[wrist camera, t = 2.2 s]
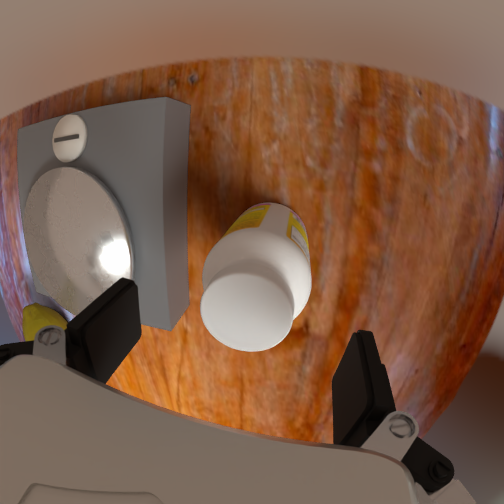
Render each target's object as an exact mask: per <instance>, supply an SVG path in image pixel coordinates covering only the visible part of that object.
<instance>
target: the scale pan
mask: <svg viewBox="0 0 504 504" xmlns="http://www.w3.org/2000/svg"><path fill="white" fill-rule="evenodd" d="M24 237H25V243H26V248H27V252H28V255H29V259H30V261H31V264H32V266H33V269H34V271H35V273H36V275H37V277H38V279H39V280H40V282H41V284H42V285H43V286H44V288H45V289H46V291H47V292H48V293H49V294H50V296H51V297H52V298H53V299H54V300H55V301H56V302H57V303H58V304H59V305H61V306H62V307H63V308H64V309H66V310H67V311H69V312H70V313H72V314H74V315H76V316H77V315H78V314H79V313H80V312H81V311H82V310H84V309H85V308H86V307H87V306H88V305H89V304H90V303H92V302H93V301H94V300H95V299H96V298H97V297H99V296H100V295H101V294H102V293H103V292H104V291H106V290H107V289H108V288H109V287H110V286H112V285H113V284H114V283H115V282H116V281H118V280H119V279H120V278H122V277H124V278H127V279H131V280H133V281H134V280H135V273H136V255H135V248H134V242H133V238H132V233H131V230H130V227H129V224H128V221H127V219H126V217H125V214H124V212H123V210H122V208H121V206H120V204H119V203H118V201H117V199H116V198H115V196H114V195H113V193H112V192H111V191H110V189H109V188H108V187H107V186H106V185H105V184H104V183H103V182H102V181H101V180H100V179H99V178H98V177H96V176H95V175H93V174H92V173H90V172H89V171H87V170H84V169H82V168H78V167H71V166H66V167H61V168H56V169H52V170H50V171H48V172H46V173H45V174H43V175H42V176H41V177H40V178H39V179H38V180H37V181H36V182H35V184H34V185H33V187H32V189H31V191H30V193H29V196H28V198H27V202H26V206H25V212H24Z"/></svg>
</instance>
